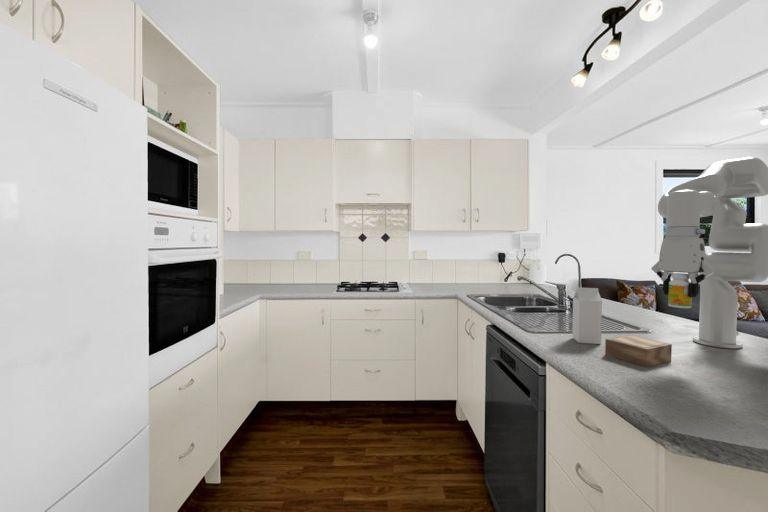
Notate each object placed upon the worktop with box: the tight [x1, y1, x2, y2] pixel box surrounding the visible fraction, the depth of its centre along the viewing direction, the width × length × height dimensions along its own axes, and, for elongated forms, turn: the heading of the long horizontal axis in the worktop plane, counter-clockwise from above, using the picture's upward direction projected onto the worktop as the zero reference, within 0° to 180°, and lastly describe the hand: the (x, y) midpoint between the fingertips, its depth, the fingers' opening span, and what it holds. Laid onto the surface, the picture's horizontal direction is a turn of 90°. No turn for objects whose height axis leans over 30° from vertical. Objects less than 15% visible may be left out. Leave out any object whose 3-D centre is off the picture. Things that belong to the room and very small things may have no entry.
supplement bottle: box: [667, 272, 693, 309], centre depth 106 cm, size 5×5×10 cm
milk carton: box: [571, 287, 603, 345], centre depth 128 cm, size 7×7×19 cm
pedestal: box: [604, 334, 673, 368], centre depth 110 cm, size 12×12×5 cm
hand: (679, 294), depth 106 cm, fingers closed on supplement bottle, 5 cm apart
